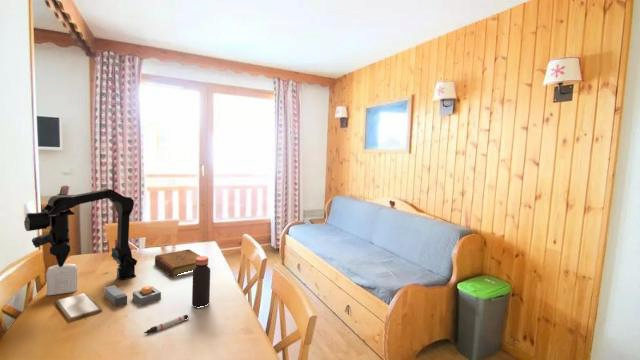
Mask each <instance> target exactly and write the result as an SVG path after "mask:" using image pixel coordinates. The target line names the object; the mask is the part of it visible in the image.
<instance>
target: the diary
mask: <svg viewBox="0 0 640 360" xmlns="http://www.w3.org/2000/svg"><path fill="white" fill-rule="evenodd" d="M200 256H201V255H200V254H198V253H197V252H195V251H193V250H191V249H189V248H188V249H182V250H178V251H172V252H167V253H166V252H165V253H161V254H157V255H155V257H154V264H155V265H156V266H157V267H158V268H159V269H161V270H163V272H165V273H166V274H168V275H169V276H171V277H172V278H175V277H174V276H177V275H178V274H181V273H184V272H188V271H192V270H194V268H195V267H196V258H197V257H200ZM177 277H178V276H177Z"/></svg>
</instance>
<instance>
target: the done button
mask: <svg viewBox="0 0 640 360" xmlns="http://www.w3.org/2000/svg"><path fill="white" fill-rule="evenodd" d="M140 290H141V295H143V296H145V295H148V294H151V293H152V286H151V285H146V286H143V287H141V289H140Z"/></svg>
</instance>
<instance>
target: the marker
mask: <svg viewBox="0 0 640 360" xmlns="http://www.w3.org/2000/svg"><path fill="white" fill-rule="evenodd" d="M187 318H188V319H189V315H188V314H185V315H181V316H178V317H176V318H173V319H170V320H168V321H165V322H161V323H159V324H157V325H155V326H152V327H150V328H149V329H147V330H146V331H144V332H143V333H144V334H147V335H149V334H154V333H157V332H159V331H161V330H162V331H163V330H164V328H165V329H167V328H169V326H170V327H172V326H174V325H173V324H175V325H177V324H176V323H178V322H180V321H183V320H185V319H187ZM185 321H186V320H185ZM183 322H184V321H183ZM180 323H181V322H180ZM178 324H179V323H178ZM171 325H172V326H171ZM166 327H167V328H166Z"/></svg>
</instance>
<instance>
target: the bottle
mask: <svg viewBox="0 0 640 360" xmlns="http://www.w3.org/2000/svg"><path fill="white" fill-rule="evenodd" d="M208 265H209V257H208V256H205V255H200V257H197V258H196V267H195V268H194V270H193V273H192V288H191V289H192V290H191V291H192V293H191V294H192V297H191V305H193V306H196V307H200V306H205V305H207V304H208V303H209V304H210V300H211V299H210V298H211V297H210V296H211V295H210V291H211V267H209V266H208ZM193 306H192V307H193Z"/></svg>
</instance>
